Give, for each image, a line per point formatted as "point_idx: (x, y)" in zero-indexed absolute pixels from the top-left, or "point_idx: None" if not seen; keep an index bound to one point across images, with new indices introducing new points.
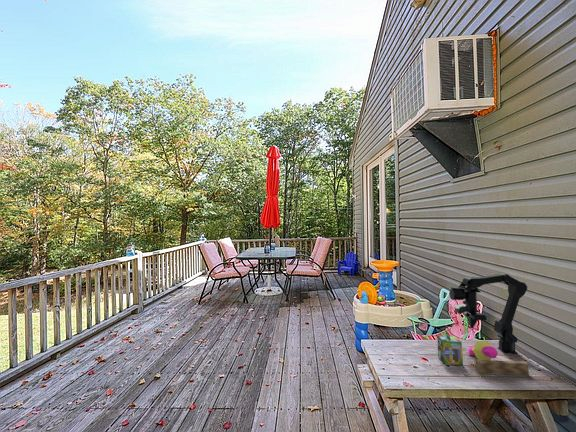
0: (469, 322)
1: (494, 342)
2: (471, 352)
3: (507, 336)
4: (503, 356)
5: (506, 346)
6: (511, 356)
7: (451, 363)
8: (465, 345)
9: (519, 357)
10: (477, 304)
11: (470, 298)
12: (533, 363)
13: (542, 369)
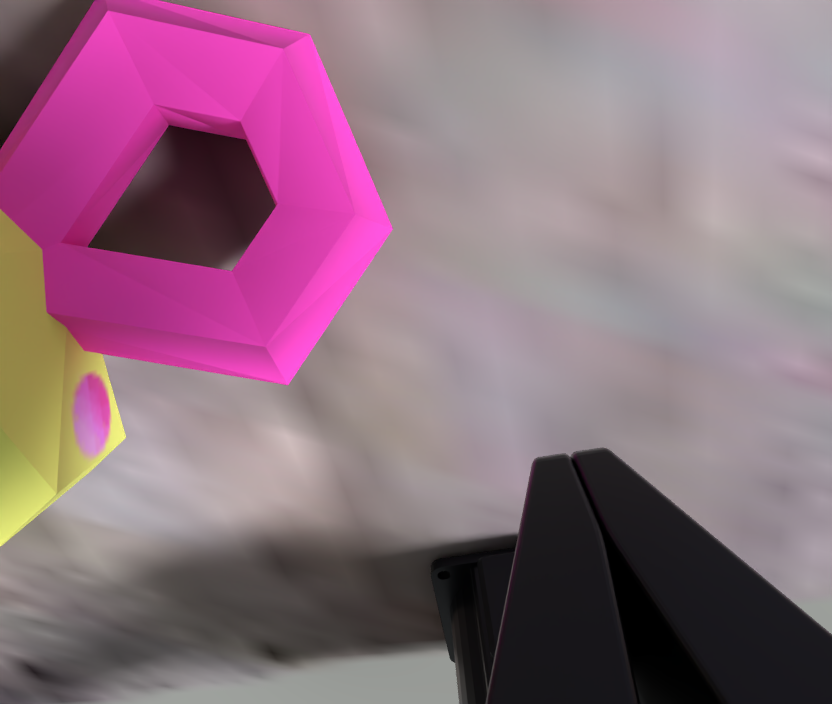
0: (701, 688)
1: (802, 558)
2: (75, 41)
3: None
4: (308, 510)
5: (469, 649)
6: (340, 581)
7: None
8: (699, 100)
9: (335, 634)
10: None
11: None
12: (205, 682)
13: (72, 696)
